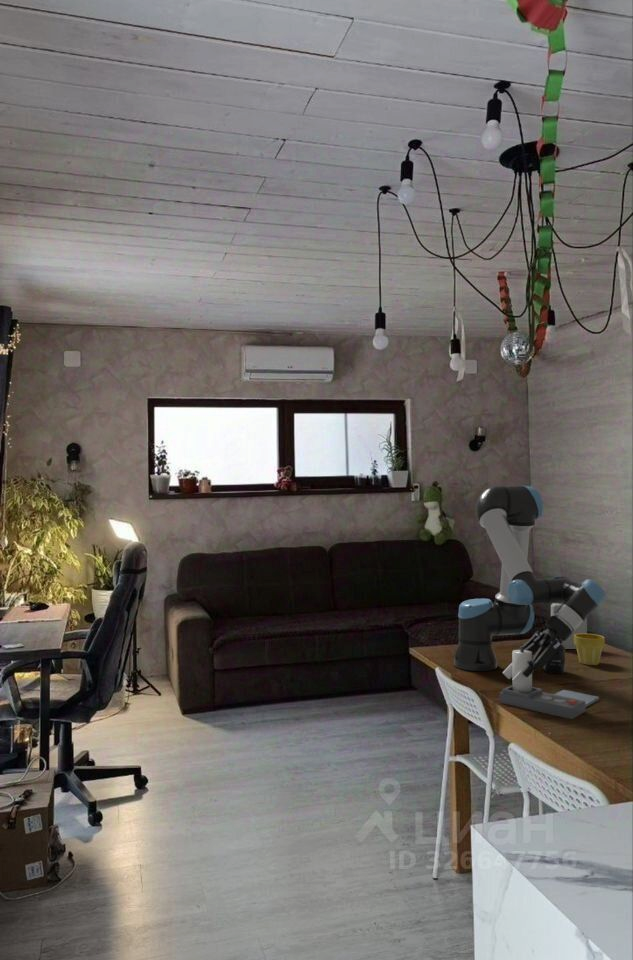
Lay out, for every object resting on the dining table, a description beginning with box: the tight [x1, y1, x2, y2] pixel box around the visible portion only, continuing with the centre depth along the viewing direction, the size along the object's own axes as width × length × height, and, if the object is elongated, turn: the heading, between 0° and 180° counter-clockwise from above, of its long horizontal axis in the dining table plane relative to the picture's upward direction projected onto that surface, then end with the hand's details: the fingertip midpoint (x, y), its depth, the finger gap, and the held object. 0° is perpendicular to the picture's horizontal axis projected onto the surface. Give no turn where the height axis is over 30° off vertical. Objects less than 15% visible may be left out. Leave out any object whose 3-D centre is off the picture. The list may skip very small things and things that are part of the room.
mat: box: [553, 689, 600, 708], centre depth 211 cm, size 11×11×1 cm
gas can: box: [550, 603, 588, 651], centre depth 277 cm, size 15×5×25 cm, turn 83°
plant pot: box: [574, 633, 606, 666], centre depth 255 cm, size 10×10×10 cm
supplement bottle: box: [543, 640, 566, 675], centre depth 243 cm, size 7×7×12 cm
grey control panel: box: [498, 684, 586, 720], centre depth 204 cm, size 22×9×4 cm, turn 47°
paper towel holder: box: [511, 645, 533, 694], centre depth 208 cm, size 6×6×14 cm
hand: (510, 679), depth 208 cm, fingers open, 7 cm apart
